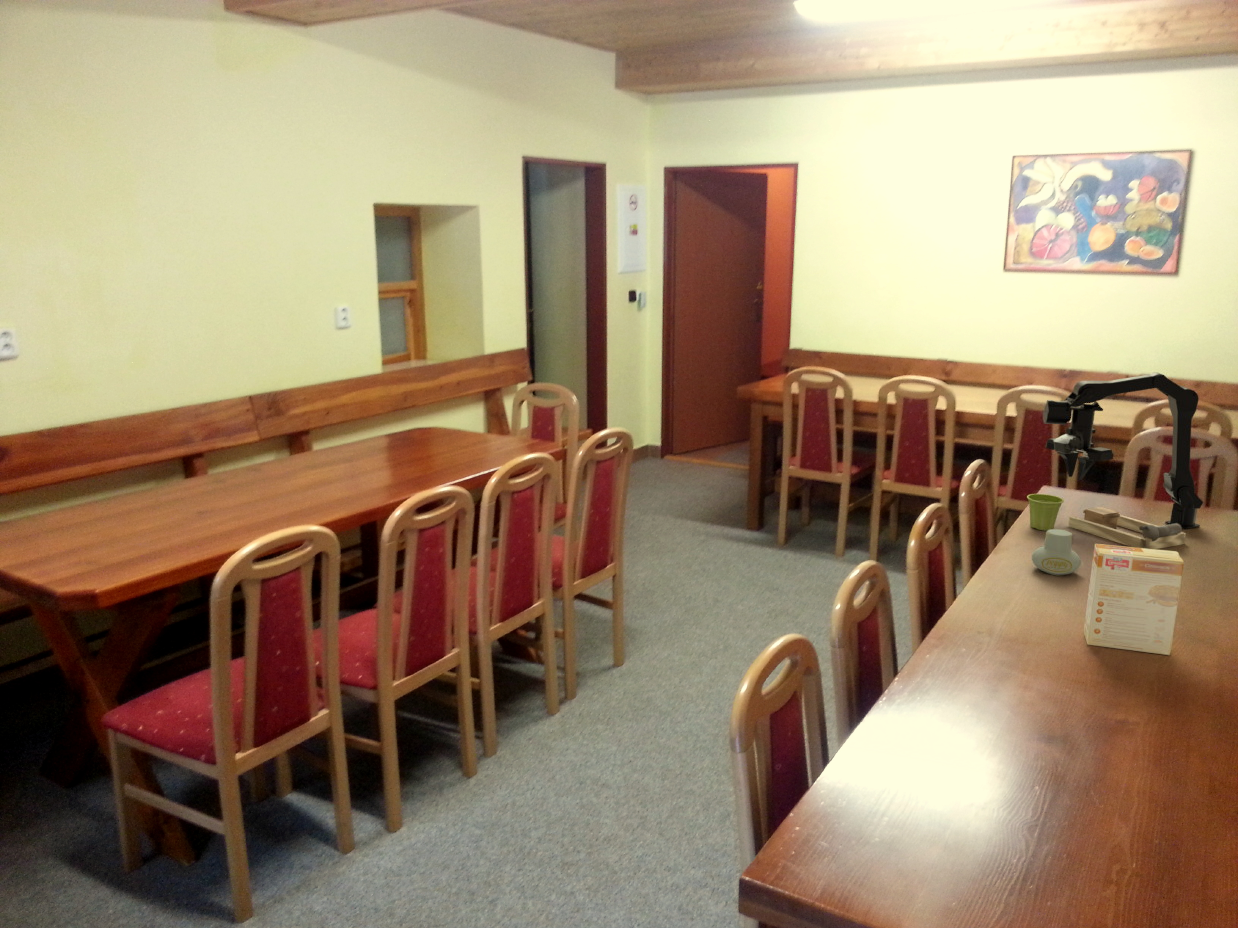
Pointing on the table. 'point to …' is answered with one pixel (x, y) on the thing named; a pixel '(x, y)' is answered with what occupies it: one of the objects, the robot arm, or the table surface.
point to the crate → (1102, 516)
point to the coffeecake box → (1133, 598)
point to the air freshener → (1056, 554)
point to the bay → (1151, 533)
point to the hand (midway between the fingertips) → (1075, 478)
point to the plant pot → (1043, 510)
